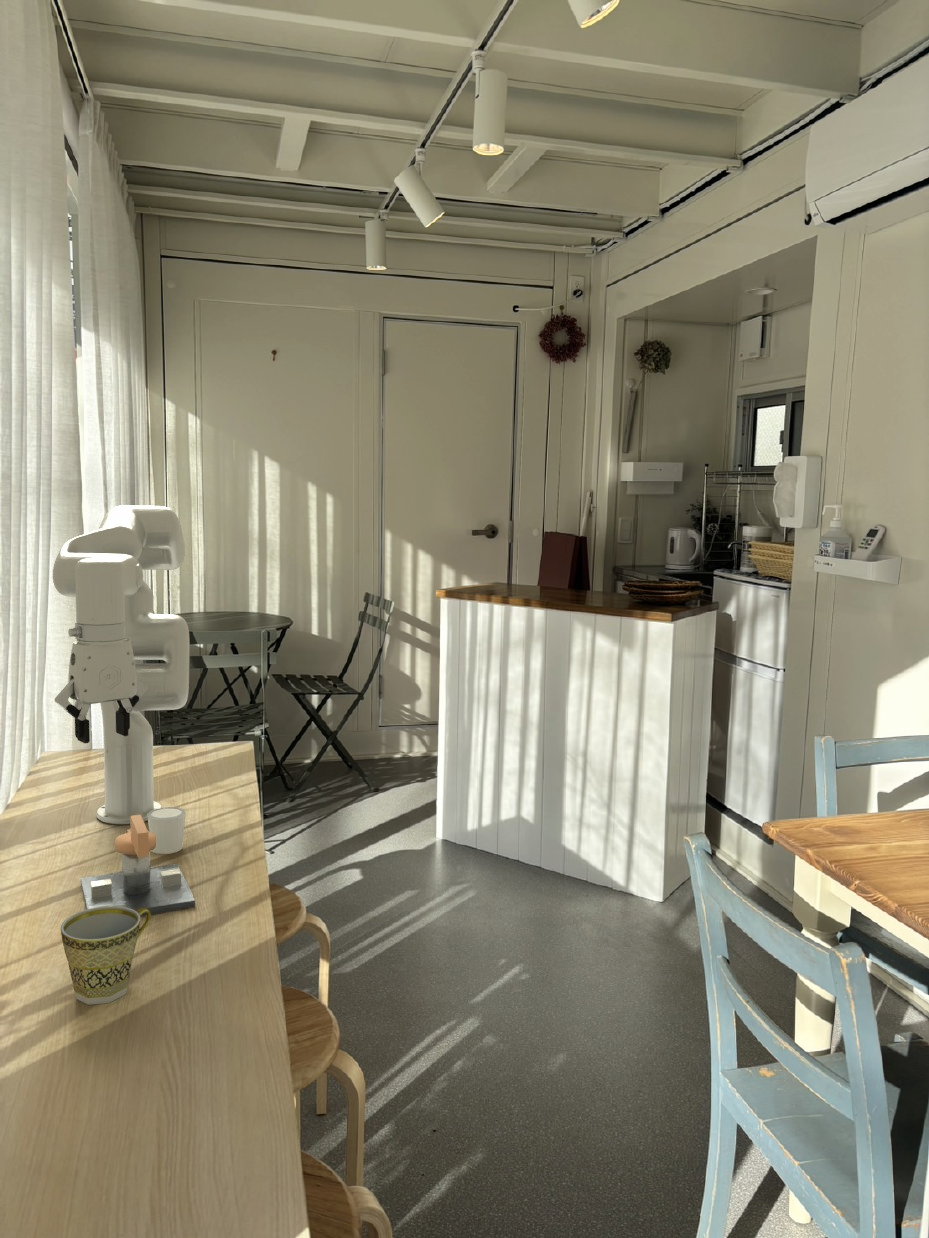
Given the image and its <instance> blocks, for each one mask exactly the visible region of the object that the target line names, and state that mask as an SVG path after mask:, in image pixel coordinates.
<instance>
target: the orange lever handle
mask: <svg viewBox="0 0 929 1238" xmlns="http://www.w3.org/2000/svg"><path fill="white" fill-rule="evenodd" d="M130 822H131V824H130V828H129V829H126V832H125V833H122V834H120V835H118V836H116V838H115V841H114V844H115V845H114V847H115V849H114V850H115V852H117V853H118V854H121V855H122V854H127V855H135V854H137V856H138V858H142V857H149V851H150V852H152V850H153V849H154V848H155V847H156V835H155V834H153V833H151V832H149V829H147V826H146V824H145V822H144V821H143V819H142V817H141V815H133V816H130Z"/></svg>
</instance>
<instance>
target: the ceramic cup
mask: <svg viewBox="0 0 929 1238" xmlns="http://www.w3.org/2000/svg"><path fill="white" fill-rule="evenodd" d="M145 912H146V913H147V915H146V917H145V918H146V919H145V921H144V923H143V925H142V926H141V917H142V916H141V915H142V914H143V913H145ZM151 916H152V915H151V914H150V911H149V910H148V909H146V908H139V909H137V910H136V911H135V910H133V909H130V908H127V907H121V906H102V907H95V908H91V909H87V910H86V909H84V910H80V911H79V912H76V913H74V914H72V915H70V916H69V917H67V918H66V919H65V920H64V921H63V922H62V924H60V933H61V934H60V935H61V941H62V944H63V945H62V946H63V950H64V954H65V957H66V960H67V962H68V963H67V964H68V969H69V973H70V979H71V981H72V987H73V991H74V995H75V996H74V997H75V998H76V1000H77V1001H79V1002H82V1003H84V1004H86V1005H88V1006H89V1005H101V1004H111V1002H113V1001H115V1000H117V999H119V998H121V997H124V996H125V995H126V994H127V991H128V986H129V982H130V976H131V969H132V963H133V959H134V958H133V957H134V952H135V950H136V946H137V942H138V939H139V937H140V936H141V935H142V933H143V932H144V931H145V929H146V928H147V927H148V926H149V924H150V921H151Z"/></svg>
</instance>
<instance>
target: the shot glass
mask: <svg viewBox="0 0 929 1238" xmlns="http://www.w3.org/2000/svg"><path fill="white" fill-rule="evenodd" d="M147 815H148V821H147V822H148V832H151V833H153V834H155V835H156V847H155V848H154V849H153V850H151V852H153V853H154V854H159V855H167V854H173V853H177V852H179V851H181V850H183V845H184V844H183V843H184V834H185V823H186V810H185V809H183V808H180V807H175V806H167V807H162V808H158V809H154V810H152V811H150V812H149V813H148V814H147Z"/></svg>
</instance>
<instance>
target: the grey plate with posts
mask: <svg viewBox="0 0 929 1238" xmlns="http://www.w3.org/2000/svg"><path fill="white" fill-rule="evenodd" d="M121 868H122V869H121V870H122V871H119V872H111V873H104V874H98V875H92V876H84V877H80V887H81V891H82V897H83V900H84V904H85V910H87V909H91V908H95V907H102V906H121V907H127V908H130V909H133V910H135V911H136V910H137V909H139V908H146V909H148V910H149V911H150V914H151V916H152V915H156V914H163V913H169V912H175V911H180V910H181V911H182V910H186V909H192V908H193V909H194V908H196V900H195V897H194V895H193V893H192V891H191V889H190V887H189V885H188V882H187V880H186V879H185V876H184V874H183V873H182V870H181V869H180V866H179V864H178V863H173V864H168V865H167V864H166V865H160V866H152V867H151V851H149V857H142V858H138V856H137V854H135V855H127V854H121ZM140 917H147V913H146V912H145V913H143V914H142V915H141V916H140Z"/></svg>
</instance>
